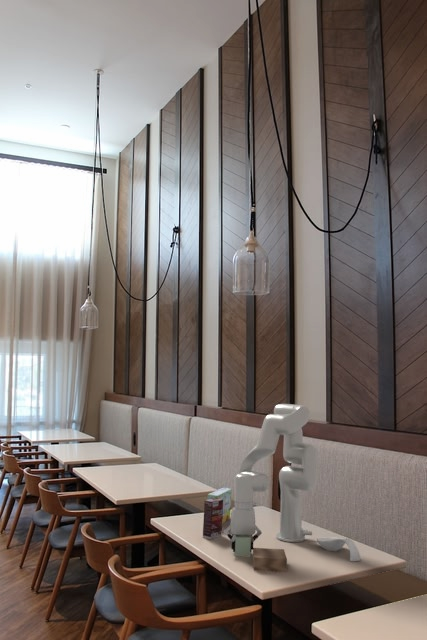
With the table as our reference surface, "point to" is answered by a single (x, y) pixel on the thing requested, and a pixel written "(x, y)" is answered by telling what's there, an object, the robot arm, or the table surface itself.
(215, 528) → the supplement box
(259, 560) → the walnut slab
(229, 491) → the snack box
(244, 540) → the sage block
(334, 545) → the spoon rest
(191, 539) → the table surface
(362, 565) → the table surface
